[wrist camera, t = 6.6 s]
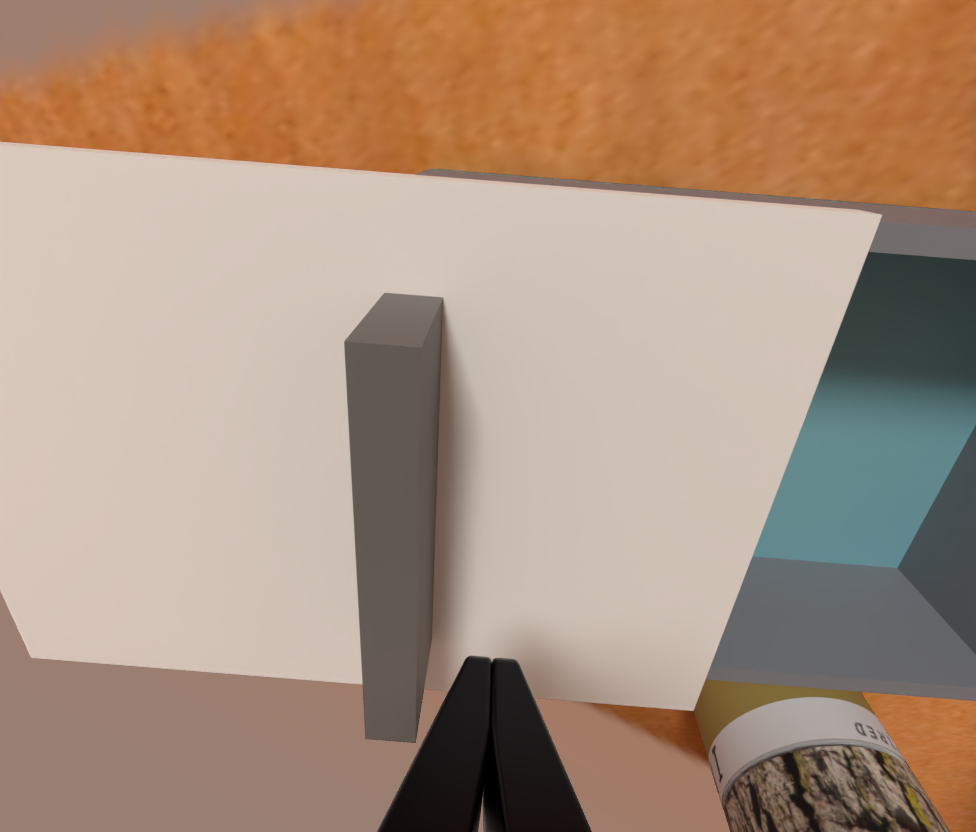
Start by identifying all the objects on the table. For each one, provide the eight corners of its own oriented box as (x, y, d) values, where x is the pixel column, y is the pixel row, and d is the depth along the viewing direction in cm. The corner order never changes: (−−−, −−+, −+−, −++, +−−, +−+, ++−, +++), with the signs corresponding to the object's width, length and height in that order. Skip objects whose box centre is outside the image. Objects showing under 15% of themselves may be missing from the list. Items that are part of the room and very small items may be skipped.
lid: (857, 209, 11) (1017, 241, 7) (685, 687, 17) (728, 820, 14) (-165, 128, 11) (-475, 123, 7) (50, 636, 17) (-61, 756, 14)
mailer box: (1090, 220, 16) (1371, 260, 11) (898, 571, 23) (1017, 704, 17) (430, 168, 16) (391, 183, 11) (423, 533, 23) (396, 654, 17)
